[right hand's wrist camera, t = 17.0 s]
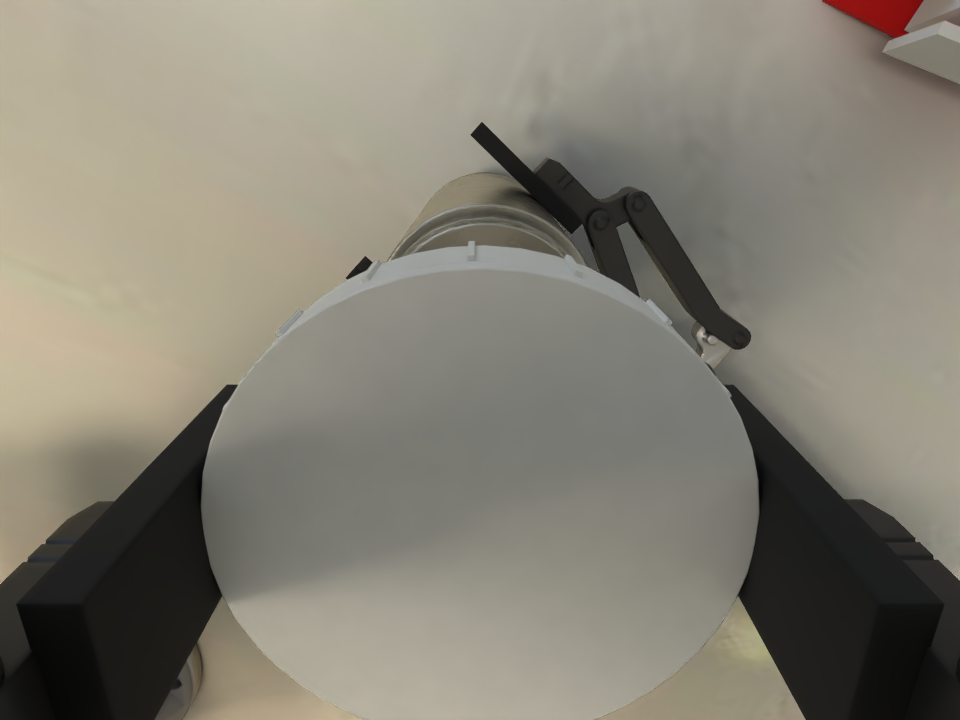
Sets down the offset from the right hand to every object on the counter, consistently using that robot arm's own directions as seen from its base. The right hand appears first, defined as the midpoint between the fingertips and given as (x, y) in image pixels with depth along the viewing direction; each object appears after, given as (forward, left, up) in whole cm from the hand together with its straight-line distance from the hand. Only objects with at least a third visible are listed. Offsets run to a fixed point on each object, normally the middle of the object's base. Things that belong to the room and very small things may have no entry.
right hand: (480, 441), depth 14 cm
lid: (0, 0, +3) cm, 3 cm away
